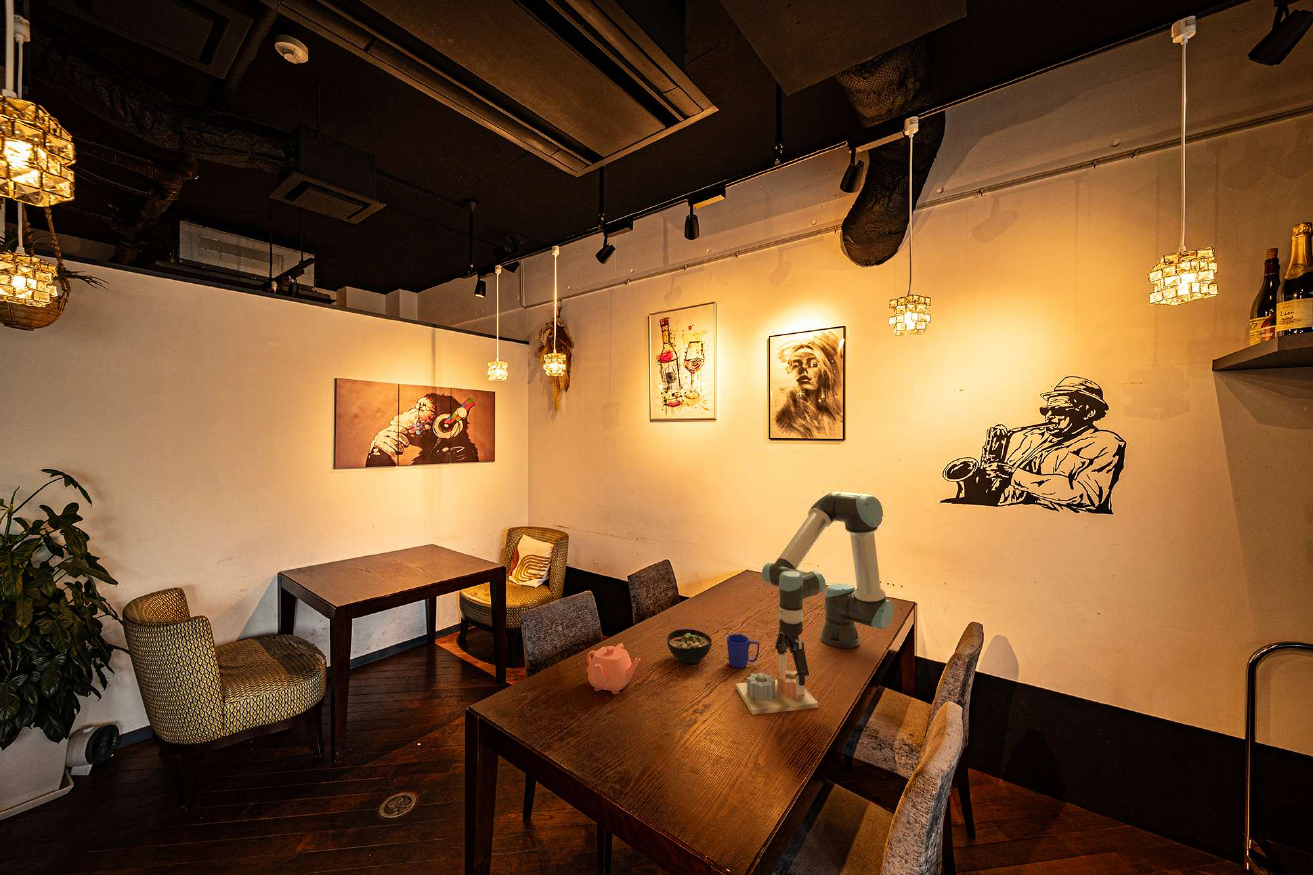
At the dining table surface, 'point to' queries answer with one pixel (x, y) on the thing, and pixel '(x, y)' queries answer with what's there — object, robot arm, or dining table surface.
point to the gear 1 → (761, 687)
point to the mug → (739, 650)
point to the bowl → (689, 646)
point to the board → (776, 700)
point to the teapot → (610, 668)
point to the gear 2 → (787, 684)
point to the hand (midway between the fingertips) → (791, 683)
